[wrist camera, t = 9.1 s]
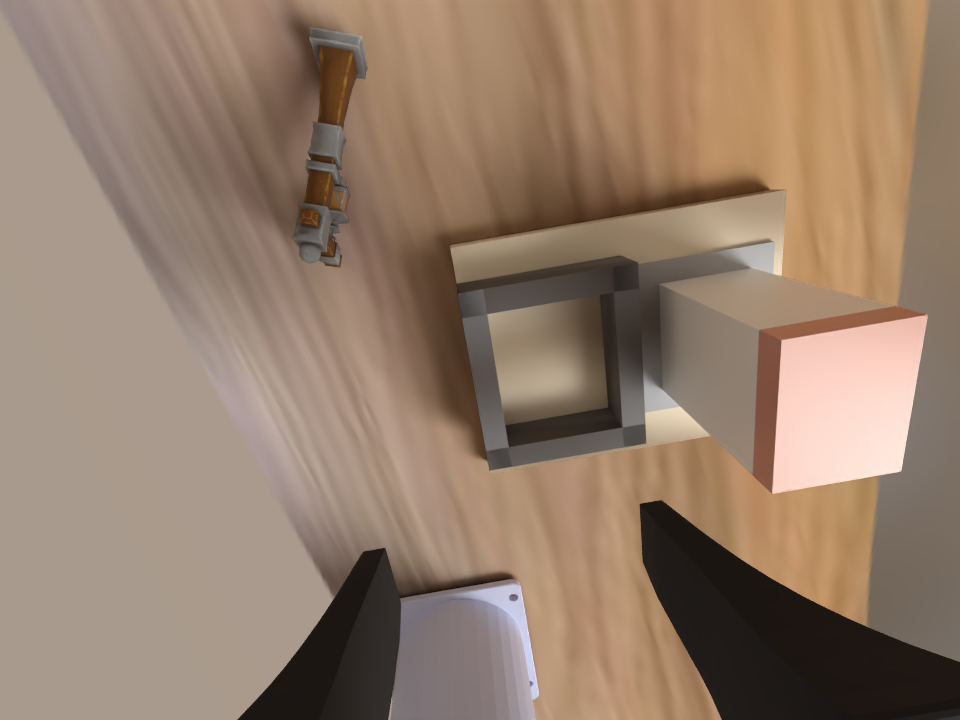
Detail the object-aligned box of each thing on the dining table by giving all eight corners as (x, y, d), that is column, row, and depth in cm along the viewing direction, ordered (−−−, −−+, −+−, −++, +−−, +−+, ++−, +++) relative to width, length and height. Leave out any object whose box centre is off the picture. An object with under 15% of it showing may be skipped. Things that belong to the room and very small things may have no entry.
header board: (760, 415, 24) (800, 445, 21) (489, 462, 24) (494, 499, 21) (771, 189, 20) (822, 189, 18) (450, 245, 20) (450, 254, 18)
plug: (747, 374, 22) (900, 471, 15) (662, 389, 22) (772, 493, 15) (751, 268, 20) (927, 315, 13) (659, 284, 20) (781, 340, 13)
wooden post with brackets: (307, 284, 20) (273, 251, 15) (333, 103, 21) (307, 21, 16) (351, 289, 20) (330, 259, 16) (375, 110, 21) (361, 31, 16)
